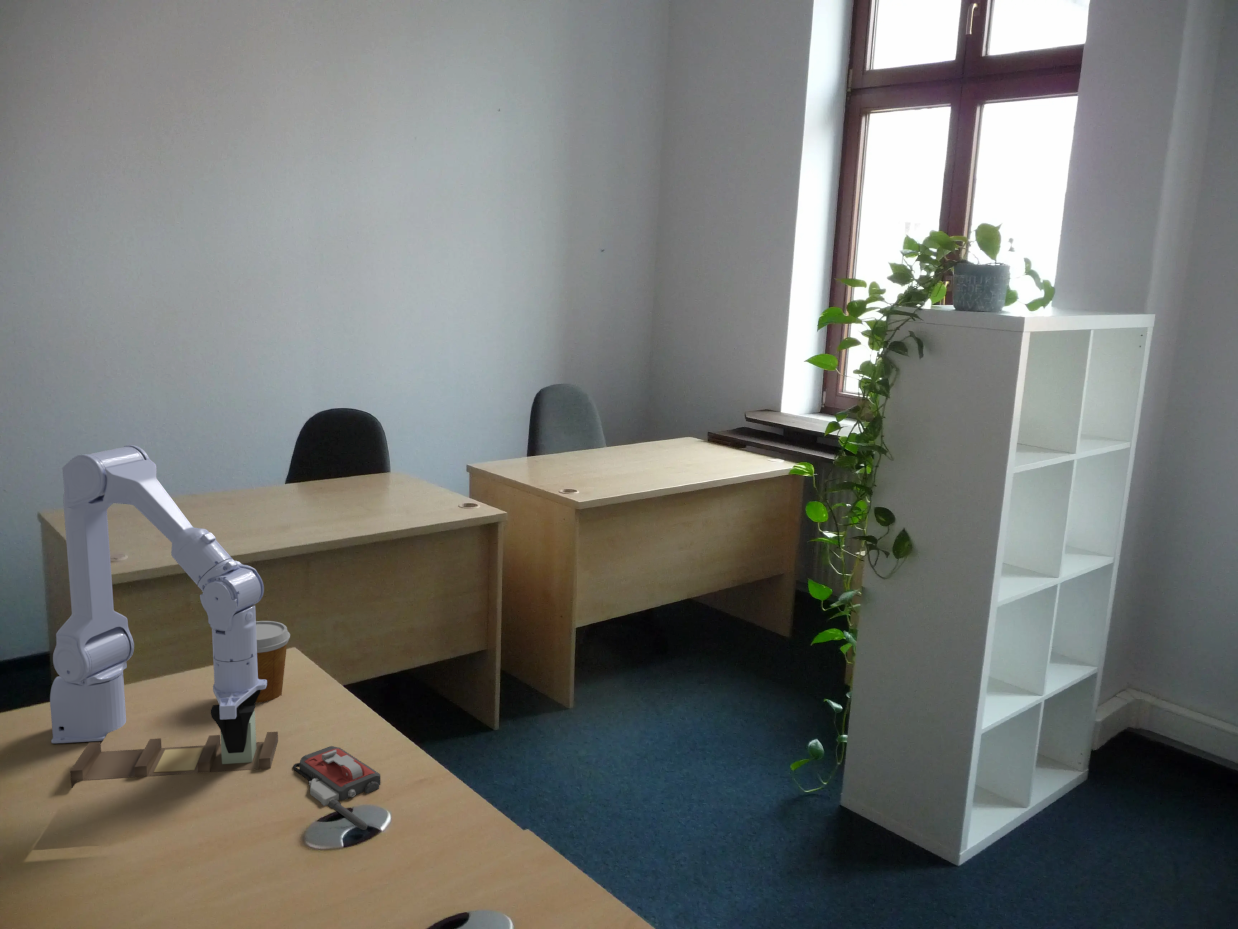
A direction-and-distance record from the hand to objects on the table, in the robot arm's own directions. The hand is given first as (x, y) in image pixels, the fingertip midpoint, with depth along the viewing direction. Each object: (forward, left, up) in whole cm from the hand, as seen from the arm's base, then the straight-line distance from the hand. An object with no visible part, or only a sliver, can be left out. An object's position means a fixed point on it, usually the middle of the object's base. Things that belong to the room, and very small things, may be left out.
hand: (238, 744), depth 138 cm
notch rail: (-8, 0, -3) cm, 9 cm away
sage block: (0, 0, -2) cm, 2 cm away
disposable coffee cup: (0, +21, -3) cm, 21 cm away
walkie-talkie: (+15, -11, -3) cm, 19 cm away
